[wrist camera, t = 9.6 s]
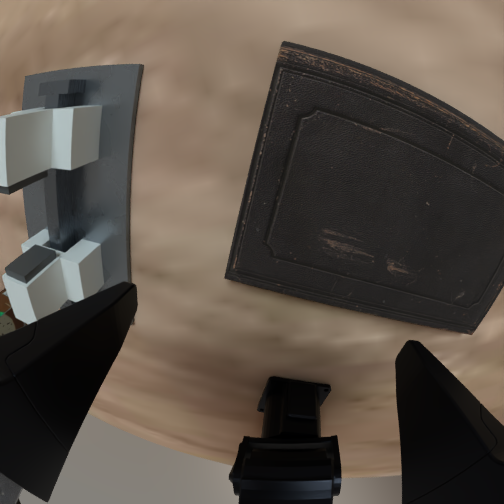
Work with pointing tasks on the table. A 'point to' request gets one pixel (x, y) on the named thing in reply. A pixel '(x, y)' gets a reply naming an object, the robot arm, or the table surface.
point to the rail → (89, 166)
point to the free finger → (51, 276)
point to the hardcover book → (371, 197)
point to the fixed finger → (46, 143)
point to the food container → (8, 315)
